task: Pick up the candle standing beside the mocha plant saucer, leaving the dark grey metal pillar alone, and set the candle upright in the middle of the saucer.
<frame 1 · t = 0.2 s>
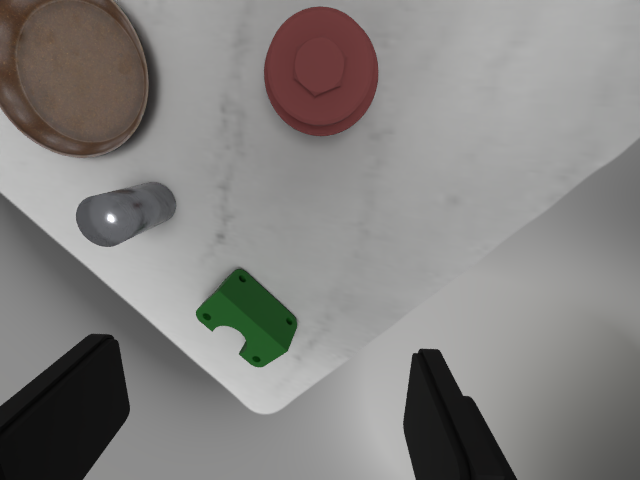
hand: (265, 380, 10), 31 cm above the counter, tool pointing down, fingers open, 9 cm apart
clamp: (253, 307, 45), on the counter
metal pillar: (156, 202, 41), on the counter
mechanical component: (323, 89, 36), on the counter
plant saucer: (85, 76, 37), on the counter
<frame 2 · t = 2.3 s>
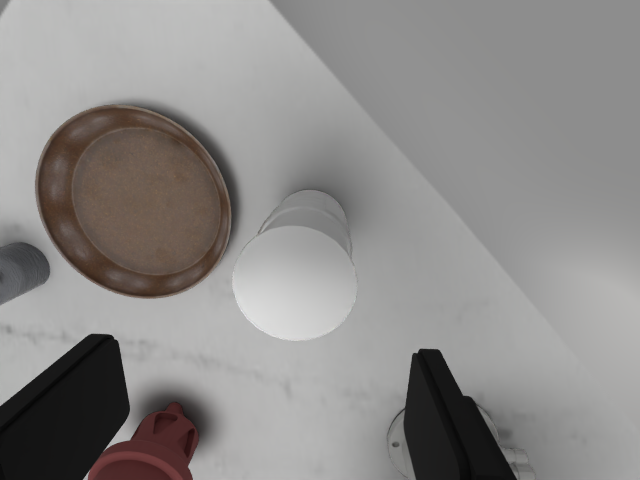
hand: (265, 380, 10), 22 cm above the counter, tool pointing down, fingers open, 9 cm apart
candle: (311, 220, 32), on the counter
metal pillar: (26, 265, 34), on the counter
mechanical component: (176, 422, 40), on the counter
plant saucer: (151, 203, 32), on the counter
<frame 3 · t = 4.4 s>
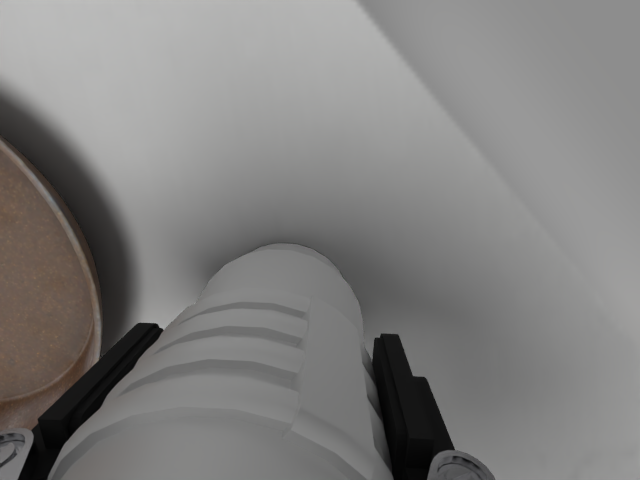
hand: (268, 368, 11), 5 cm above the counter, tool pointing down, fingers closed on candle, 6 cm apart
candle: (287, 300, 15), on the counter, touching gripper
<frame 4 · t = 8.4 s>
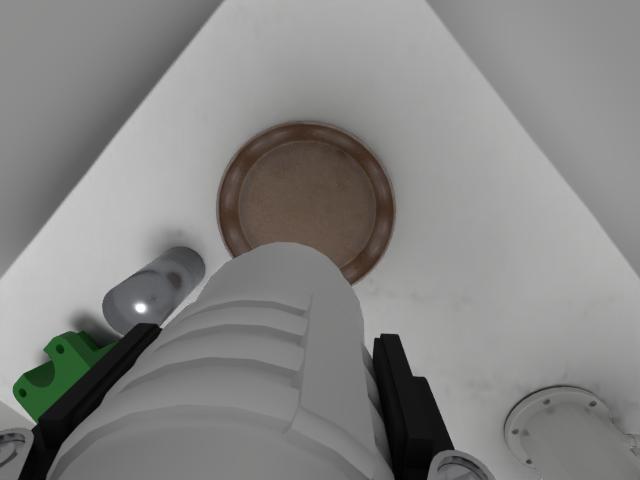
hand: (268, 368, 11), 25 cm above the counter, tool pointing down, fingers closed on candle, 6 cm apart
clamp: (89, 355, 41), on the counter
candle: (287, 299, 15), point 20 cm above the counter, touching gripper
metal pillar: (183, 267, 37), on the counter
plant saucer: (307, 210, 35), on the counter
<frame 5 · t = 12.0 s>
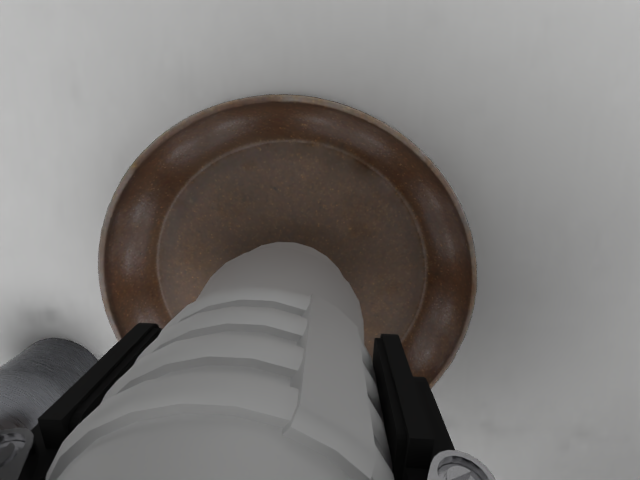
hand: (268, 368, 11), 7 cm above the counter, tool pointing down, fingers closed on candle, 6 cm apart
candle: (287, 299, 15), point 2 cm above the counter, touching gripper
metal pillar: (64, 373, 20), on the counter
plant saucer: (293, 272, 18), on the counter
when the fingers open (7 cm above the counter, at t = 12.7 s): candle stays where it is, resting on plant saucer.
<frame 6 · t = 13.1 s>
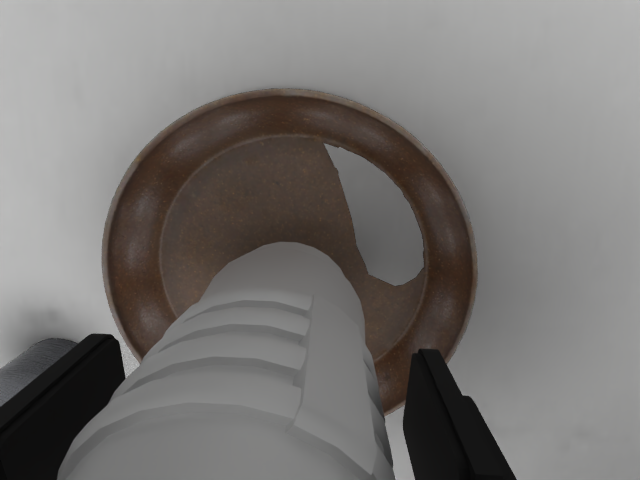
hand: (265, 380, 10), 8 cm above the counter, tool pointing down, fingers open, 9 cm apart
candle: (289, 298, 16), point 2 cm above the counter, touching plant saucer
metal pillar: (66, 373, 20), on the counter
plant saucer: (295, 267, 18), on the counter, touching candle
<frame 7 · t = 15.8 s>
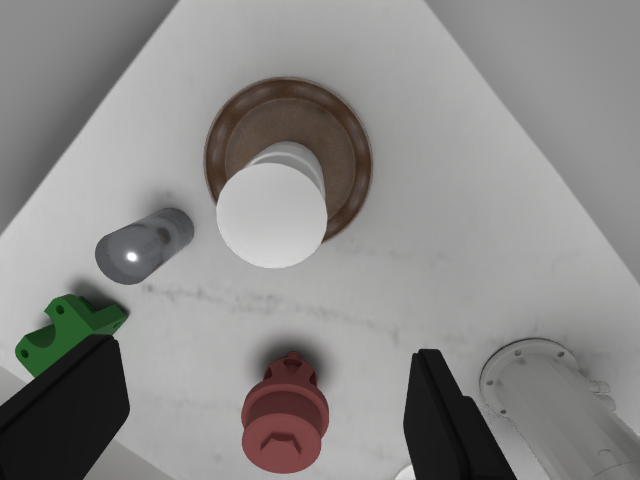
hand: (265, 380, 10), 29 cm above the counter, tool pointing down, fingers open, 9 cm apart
clamp: (88, 320, 43), on the counter
candle: (289, 172, 34), point 3 cm above the counter, touching plant saucer
metal pillar: (172, 228, 39), on the counter
mechanical component: (291, 370, 45), on the counter
plant saucer: (291, 167, 37), on the counter, touching candle
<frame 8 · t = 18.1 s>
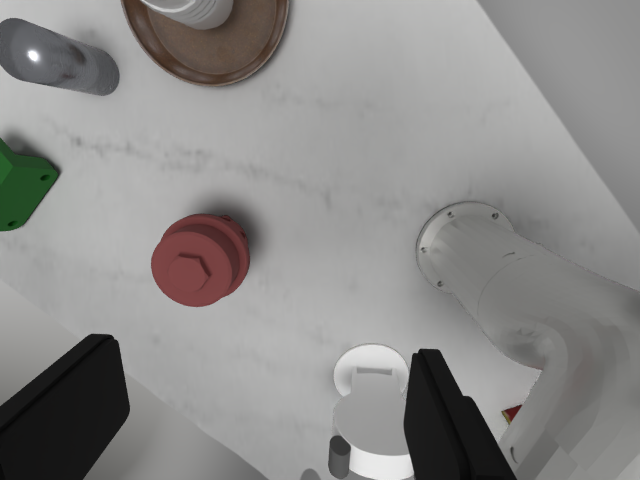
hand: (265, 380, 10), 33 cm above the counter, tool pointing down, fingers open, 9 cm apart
clamp: (21, 181, 43), on the counter
panda figurine: (368, 374, 50), on the counter
metal pillar: (98, 72, 39), on the counter
mechanical component: (225, 238, 44), on the counter
plant saucer: (213, 4, 37), on the counter, touching candle
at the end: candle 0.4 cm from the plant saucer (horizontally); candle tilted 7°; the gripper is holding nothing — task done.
